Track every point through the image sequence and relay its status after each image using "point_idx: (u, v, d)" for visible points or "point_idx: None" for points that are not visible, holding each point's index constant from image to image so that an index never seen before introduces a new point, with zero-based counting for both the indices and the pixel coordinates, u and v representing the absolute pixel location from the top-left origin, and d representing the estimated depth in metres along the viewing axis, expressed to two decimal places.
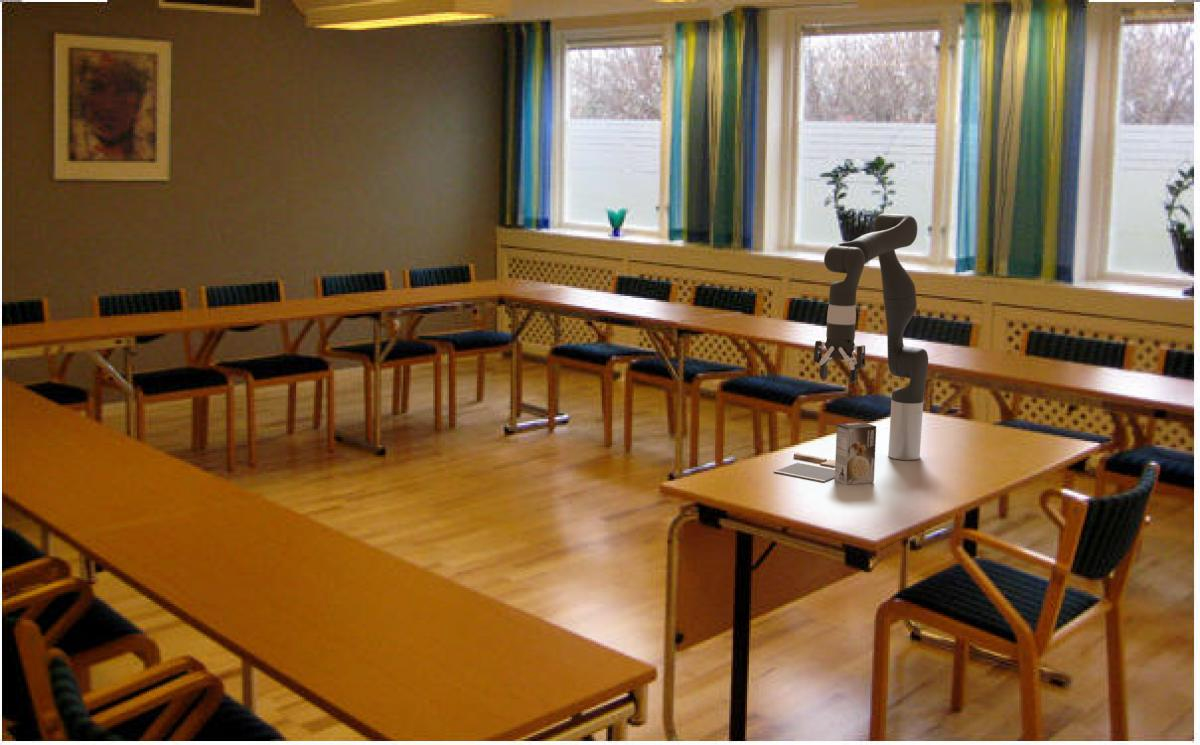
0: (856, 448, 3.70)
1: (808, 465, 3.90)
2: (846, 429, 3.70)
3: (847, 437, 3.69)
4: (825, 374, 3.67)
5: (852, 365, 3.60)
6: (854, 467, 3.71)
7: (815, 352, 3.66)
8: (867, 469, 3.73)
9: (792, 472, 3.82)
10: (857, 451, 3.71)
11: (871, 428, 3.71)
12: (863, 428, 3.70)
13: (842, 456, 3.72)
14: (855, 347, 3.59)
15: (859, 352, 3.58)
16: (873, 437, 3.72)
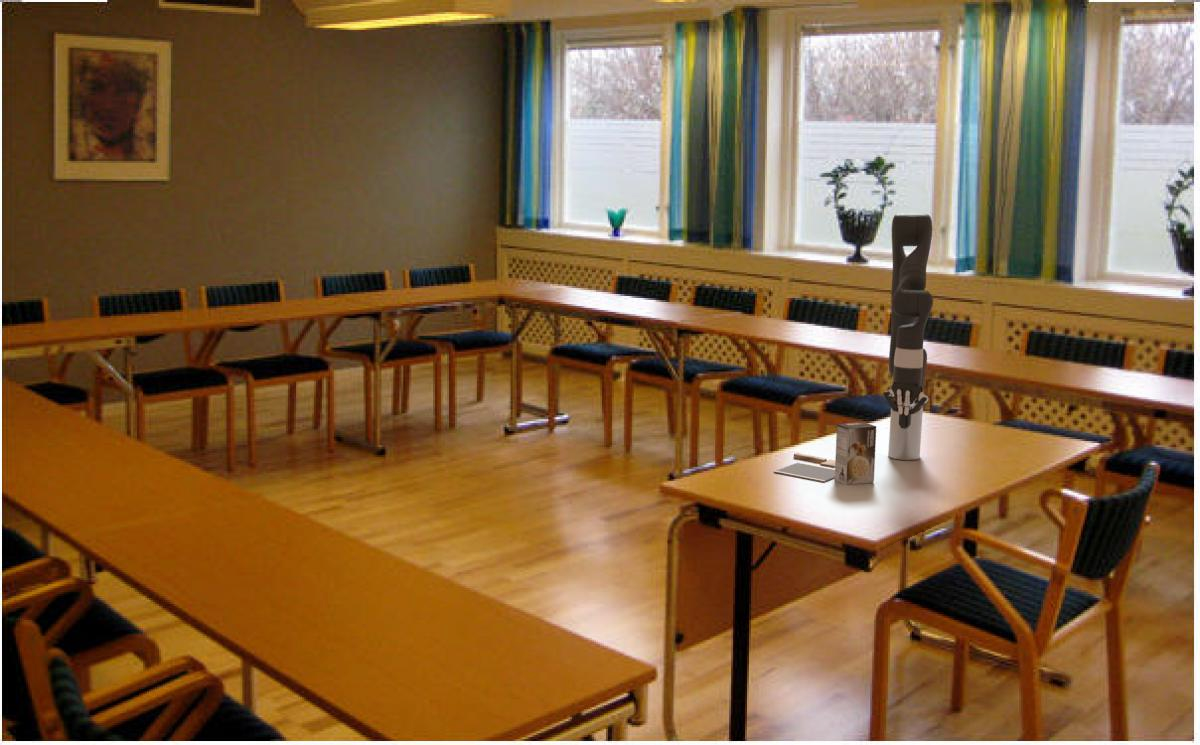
0: (856, 448, 3.70)
1: (808, 465, 3.90)
2: (846, 429, 3.69)
3: (847, 437, 3.69)
4: None
5: (907, 411, 3.62)
6: (854, 467, 3.71)
7: (889, 402, 3.65)
8: (867, 469, 3.73)
9: (792, 472, 3.82)
10: (857, 451, 3.71)
11: (871, 428, 3.71)
12: (863, 428, 3.70)
13: (842, 456, 3.72)
14: (921, 395, 3.59)
15: (921, 402, 3.59)
16: (873, 437, 3.72)
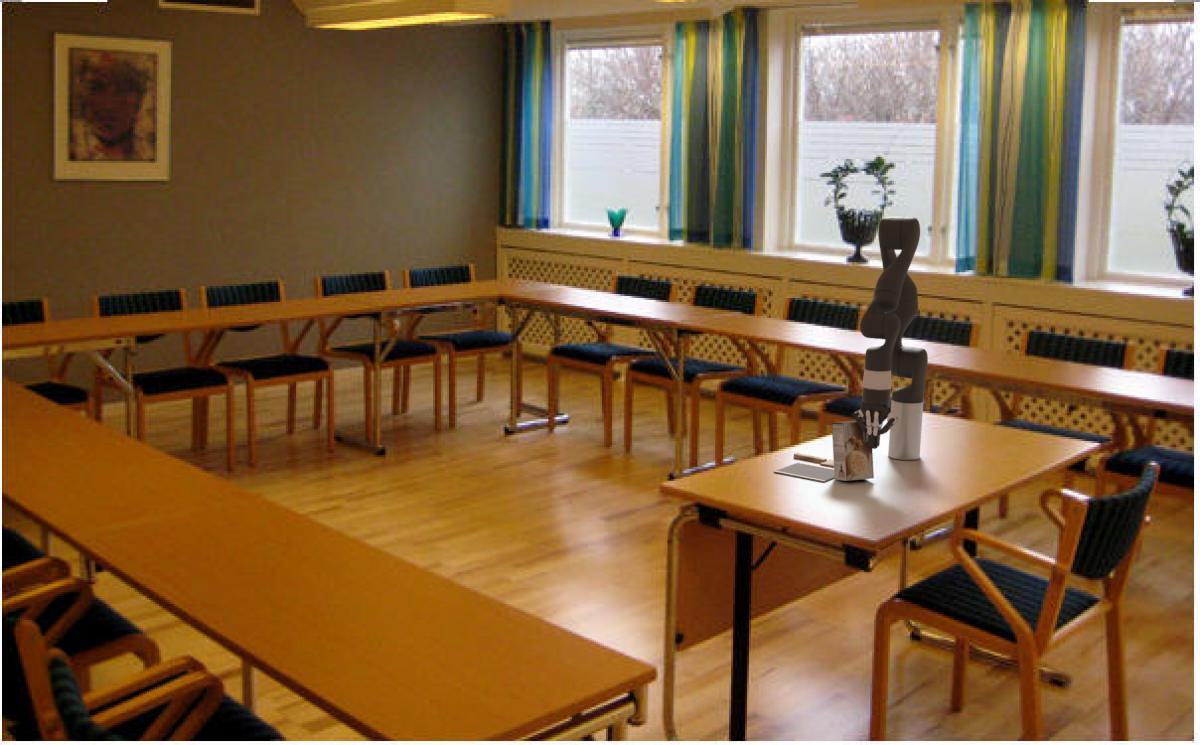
0: (853, 443, 3.72)
1: (808, 465, 3.90)
2: (841, 424, 3.72)
3: (843, 431, 3.71)
4: None
5: (876, 432, 3.68)
6: (853, 463, 3.72)
7: (859, 423, 3.71)
8: (866, 465, 3.74)
9: (792, 472, 3.82)
10: (854, 445, 3.72)
11: None
12: None
13: (839, 453, 3.73)
14: (889, 416, 3.66)
15: (889, 423, 3.65)
16: None
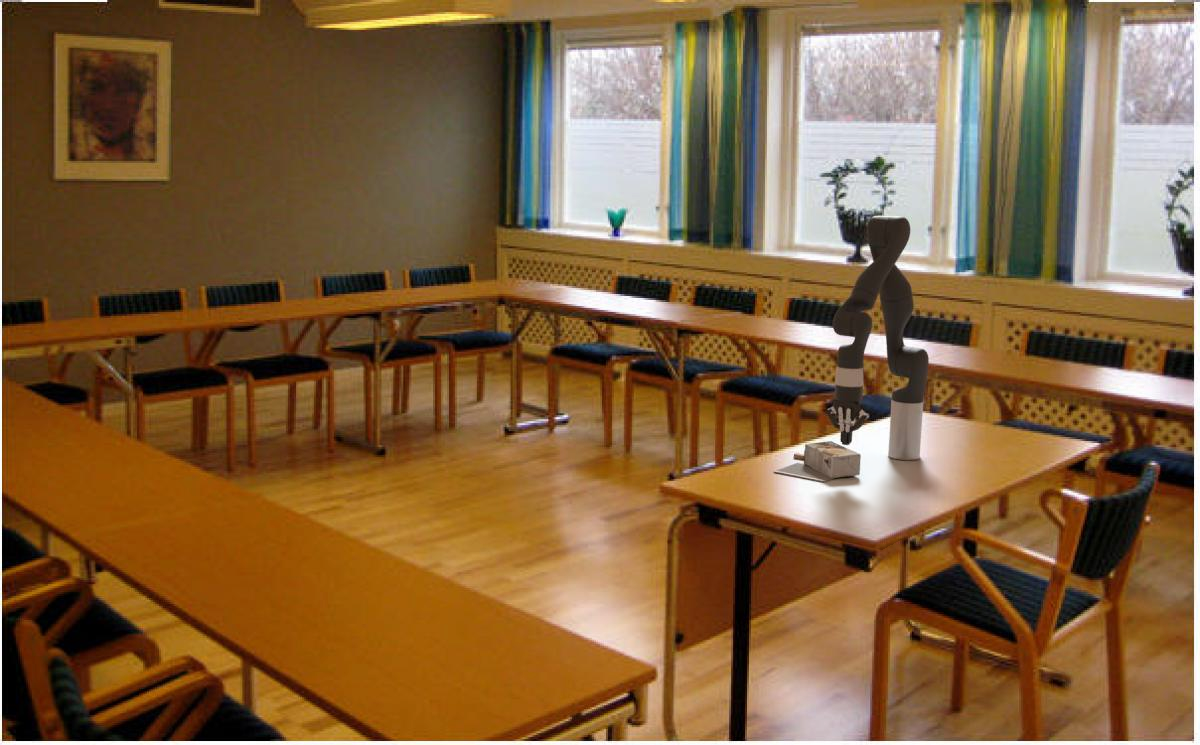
0: (823, 447, 3.86)
1: None
2: (805, 448, 3.90)
3: (808, 446, 3.88)
4: None
5: (848, 428, 3.73)
6: (831, 451, 3.81)
7: (831, 420, 3.76)
8: (846, 451, 3.81)
9: (792, 472, 3.82)
10: (825, 447, 3.85)
11: None
12: (819, 442, 3.91)
13: (818, 459, 3.83)
14: (861, 412, 3.71)
15: (861, 420, 3.70)
16: (834, 443, 3.90)
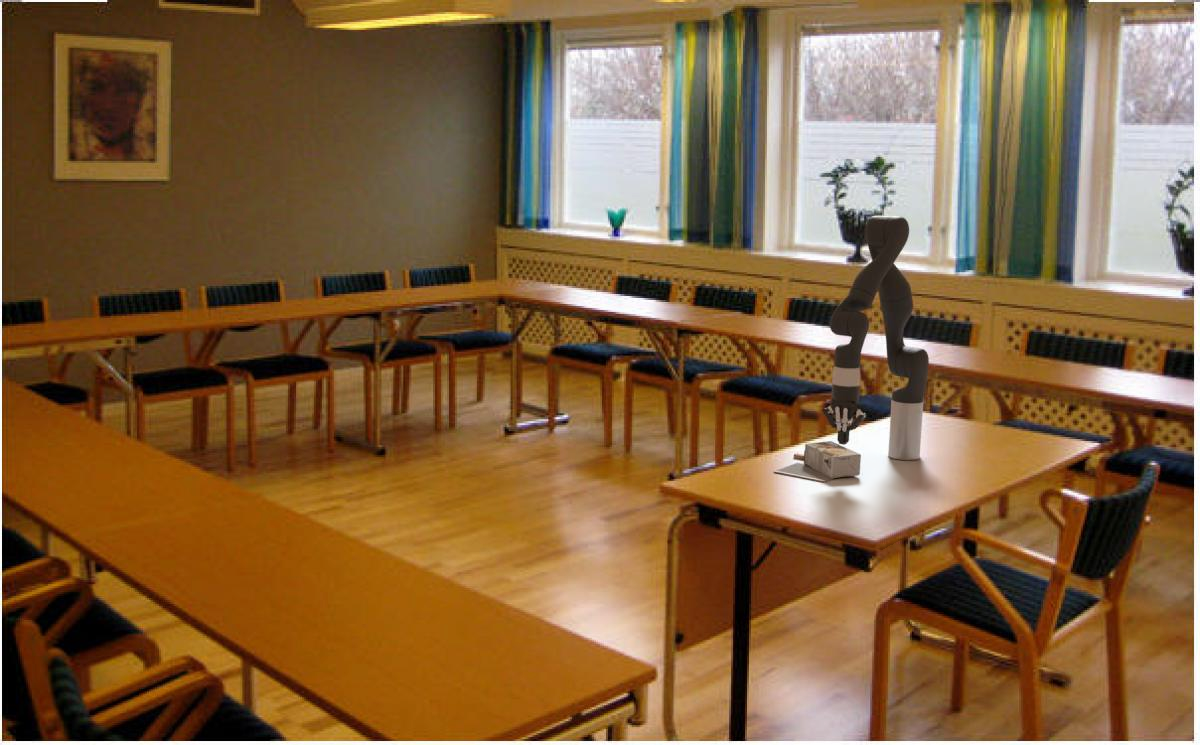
0: (823, 447, 3.86)
1: None
2: (805, 447, 3.90)
3: (809, 446, 3.88)
4: None
5: (845, 428, 3.74)
6: (831, 451, 3.81)
7: (828, 419, 3.77)
8: (846, 451, 3.81)
9: (792, 472, 3.82)
10: (825, 447, 3.85)
11: None
12: (819, 442, 3.91)
13: (818, 459, 3.83)
14: (858, 412, 3.71)
15: (858, 419, 3.71)
16: (834, 443, 3.90)
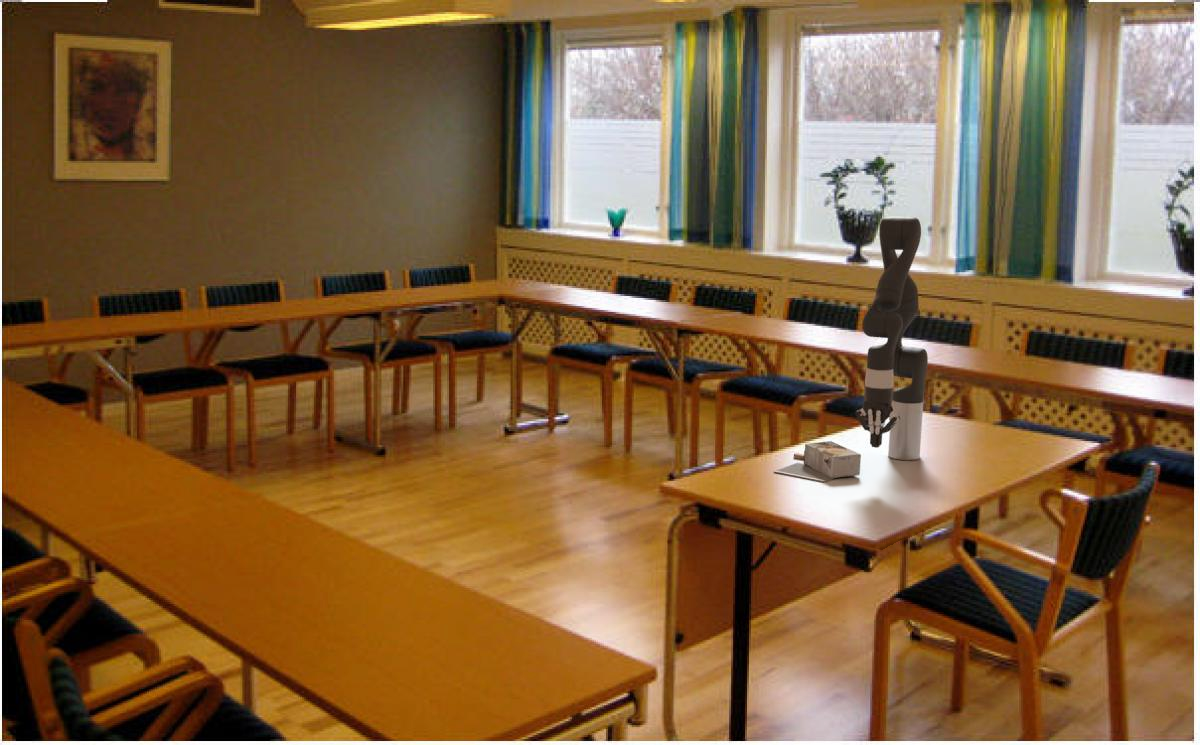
0: (823, 447, 3.86)
1: None
2: (805, 447, 3.90)
3: (809, 446, 3.88)
4: None
5: (878, 430, 3.68)
6: (831, 451, 3.81)
7: (861, 422, 3.71)
8: (846, 451, 3.81)
9: (792, 472, 3.82)
10: (825, 447, 3.85)
11: None
12: (819, 442, 3.91)
13: (818, 459, 3.83)
14: (891, 414, 3.65)
15: (891, 422, 3.65)
16: (834, 443, 3.90)
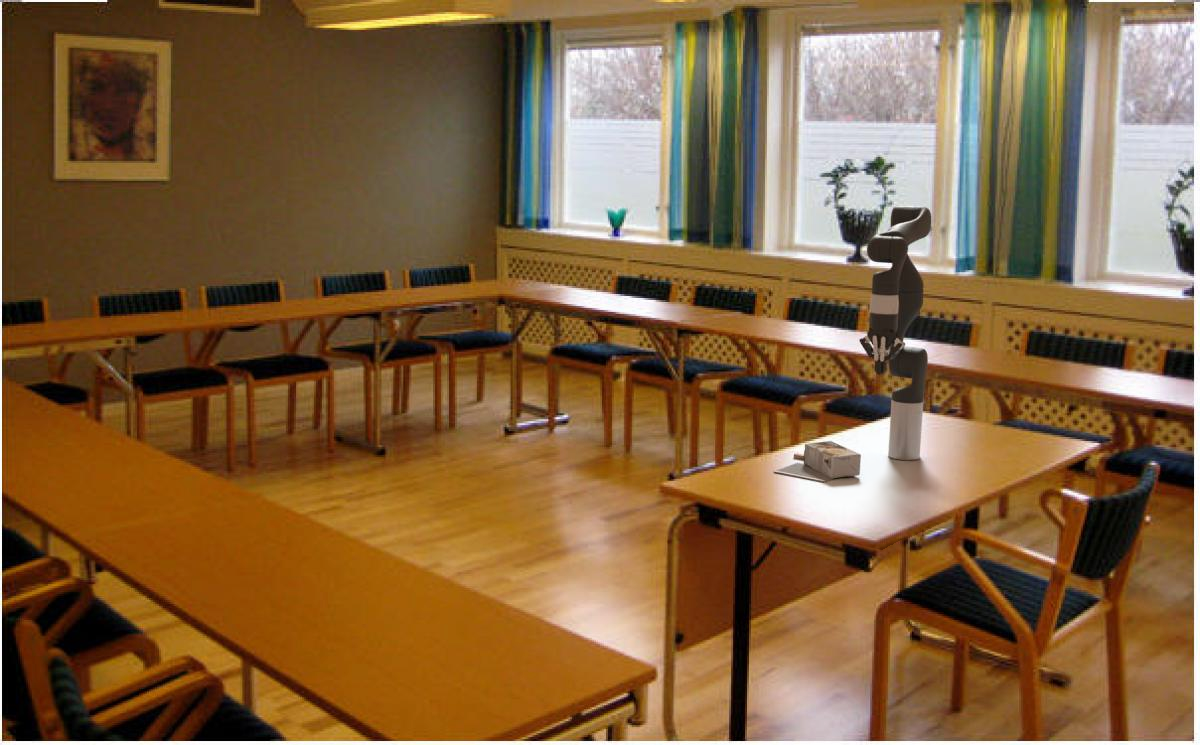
0: (823, 447, 3.86)
1: None
2: (805, 447, 3.90)
3: (808, 446, 3.88)
4: None
5: (883, 357, 3.64)
6: (831, 451, 3.81)
7: (865, 349, 3.67)
8: (846, 451, 3.81)
9: (792, 472, 3.82)
10: (825, 447, 3.85)
11: (827, 441, 3.92)
12: (819, 442, 3.91)
13: (818, 459, 3.83)
14: (896, 341, 3.62)
15: (896, 348, 3.61)
16: (834, 443, 3.90)
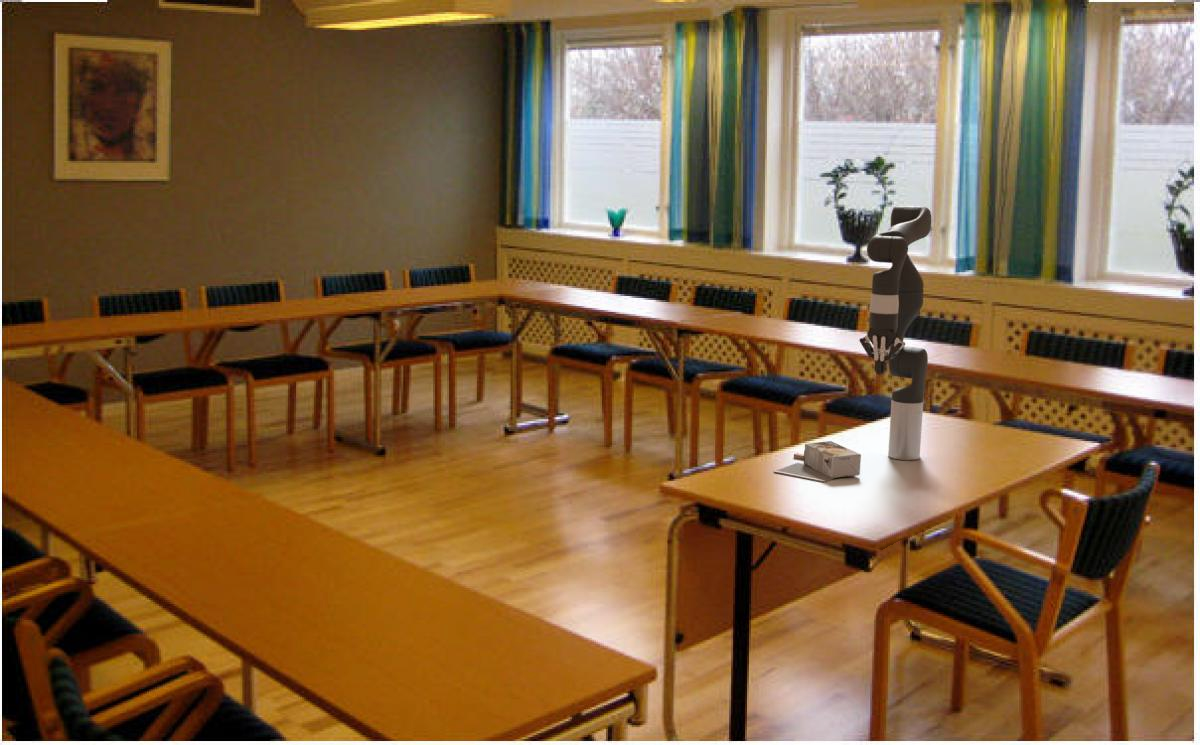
0: (823, 447, 3.86)
1: None
2: (805, 447, 3.90)
3: (809, 446, 3.88)
4: None
5: (883, 357, 3.64)
6: (832, 451, 3.81)
7: (865, 349, 3.67)
8: (846, 451, 3.81)
9: (792, 472, 3.82)
10: (825, 447, 3.85)
11: None
12: (819, 442, 3.91)
13: (818, 459, 3.83)
14: (896, 340, 3.62)
15: (896, 348, 3.61)
16: (834, 443, 3.90)
